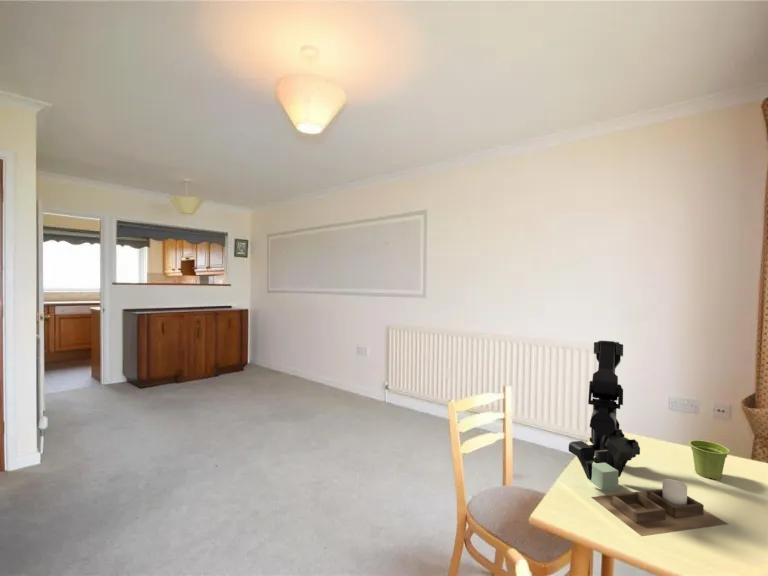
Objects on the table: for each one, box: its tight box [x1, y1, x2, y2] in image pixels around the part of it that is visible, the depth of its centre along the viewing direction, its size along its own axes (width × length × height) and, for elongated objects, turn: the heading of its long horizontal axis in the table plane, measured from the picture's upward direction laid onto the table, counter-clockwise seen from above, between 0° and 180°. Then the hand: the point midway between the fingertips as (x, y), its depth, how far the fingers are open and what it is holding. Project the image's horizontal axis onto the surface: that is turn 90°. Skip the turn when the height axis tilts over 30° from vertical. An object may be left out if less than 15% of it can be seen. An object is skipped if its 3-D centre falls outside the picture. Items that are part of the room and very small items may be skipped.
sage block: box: [589, 462, 619, 491], centre depth 110 cm, size 5×5×6 cm
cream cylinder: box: [661, 478, 688, 506], centre depth 99 cm, size 5×5×6 cm
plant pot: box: [688, 439, 731, 480], centre depth 117 cm, size 9×9×9 cm
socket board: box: [591, 488, 729, 537], centre depth 98 cm, size 16×24×4 cm, turn 101°
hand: (603, 477), depth 110 cm, fingers open, 9 cm apart
